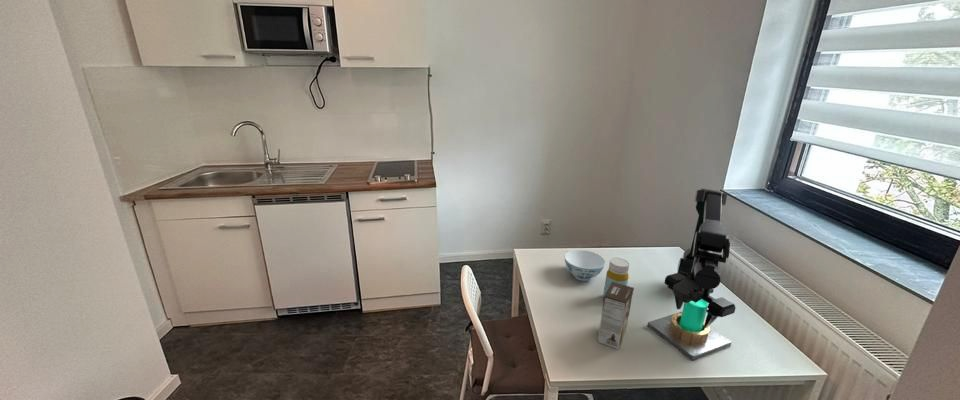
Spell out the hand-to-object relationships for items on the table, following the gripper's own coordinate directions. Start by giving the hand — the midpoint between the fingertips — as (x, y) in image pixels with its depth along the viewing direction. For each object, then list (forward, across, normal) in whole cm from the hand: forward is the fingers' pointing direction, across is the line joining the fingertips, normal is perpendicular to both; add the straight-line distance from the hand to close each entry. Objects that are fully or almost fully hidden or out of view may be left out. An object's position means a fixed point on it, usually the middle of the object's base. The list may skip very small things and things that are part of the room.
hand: (691, 317), depth 111 cm
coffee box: (+7, -8, -22) cm, 24 cm away
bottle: (+7, -23, -8) cm, 25 cm away
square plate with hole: (+6, 0, 0) cm, 6 cm away
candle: (+5, 0, 0) cm, 5 cm away
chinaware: (+7, -40, -8) cm, 41 cm away
